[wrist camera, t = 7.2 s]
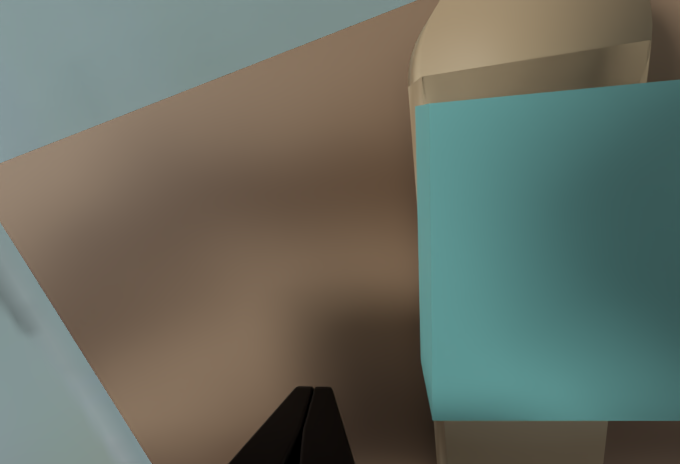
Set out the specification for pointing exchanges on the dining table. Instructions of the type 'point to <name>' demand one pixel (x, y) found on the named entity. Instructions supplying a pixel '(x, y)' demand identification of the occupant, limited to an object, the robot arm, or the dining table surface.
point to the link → (517, 79)
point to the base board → (261, 249)
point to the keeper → (551, 255)
